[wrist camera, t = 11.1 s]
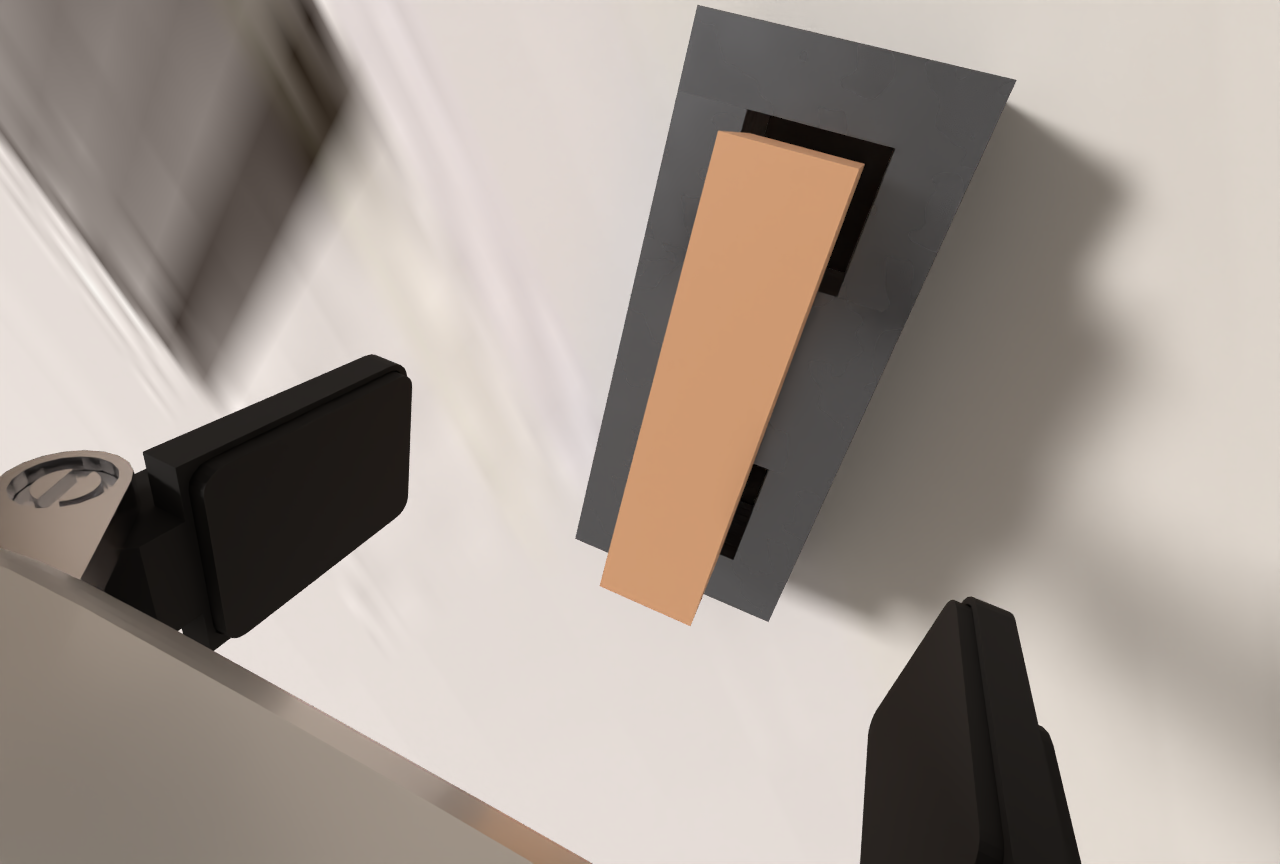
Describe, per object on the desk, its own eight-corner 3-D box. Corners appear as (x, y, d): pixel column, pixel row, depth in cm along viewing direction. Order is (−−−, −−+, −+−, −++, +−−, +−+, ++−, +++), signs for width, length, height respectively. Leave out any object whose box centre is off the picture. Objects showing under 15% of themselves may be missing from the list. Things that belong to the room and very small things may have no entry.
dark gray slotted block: (991, 91, 18) (1016, 79, 15) (783, 560, 27) (768, 621, 23) (730, 28, 20) (697, 4, 16) (612, 490, 28) (575, 538, 25)
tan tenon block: (870, 159, 20) (859, 168, 13) (745, 491, 26) (690, 626, 19) (778, 135, 20) (718, 131, 13) (678, 465, 27) (599, 585, 19)
